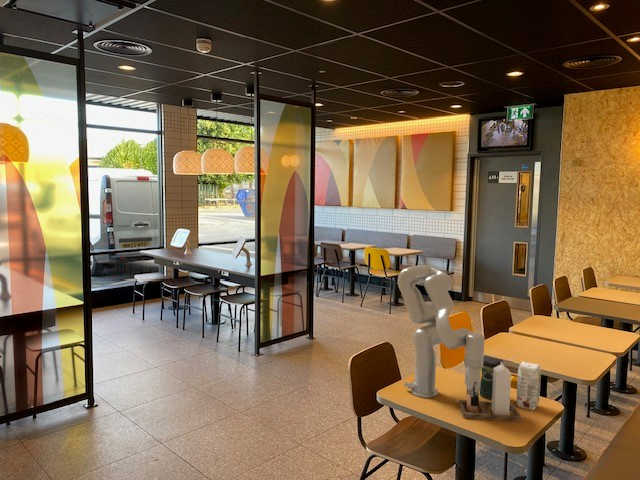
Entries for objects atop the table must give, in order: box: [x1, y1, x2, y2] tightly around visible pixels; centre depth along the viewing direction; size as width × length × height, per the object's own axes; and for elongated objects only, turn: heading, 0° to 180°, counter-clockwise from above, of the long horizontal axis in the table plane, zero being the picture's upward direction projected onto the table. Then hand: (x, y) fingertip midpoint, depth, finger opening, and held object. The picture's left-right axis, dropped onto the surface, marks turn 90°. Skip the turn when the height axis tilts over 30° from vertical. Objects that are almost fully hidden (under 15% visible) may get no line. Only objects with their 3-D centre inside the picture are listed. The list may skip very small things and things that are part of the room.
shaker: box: [466, 390, 479, 413], centre depth 205 cm, size 5×5×9 cm
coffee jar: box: [479, 355, 504, 401], centre depth 220 cm, size 10×8×19 cm
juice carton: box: [516, 361, 542, 411], centre depth 210 cm, size 8×9×19 cm
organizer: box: [458, 399, 522, 423], centre depth 204 cm, size 23×13×2 cm, turn 82°
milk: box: [491, 362, 512, 415], centre depth 203 cm, size 6×6×22 cm
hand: (472, 400), depth 205 cm, fingers open, 9 cm apart
